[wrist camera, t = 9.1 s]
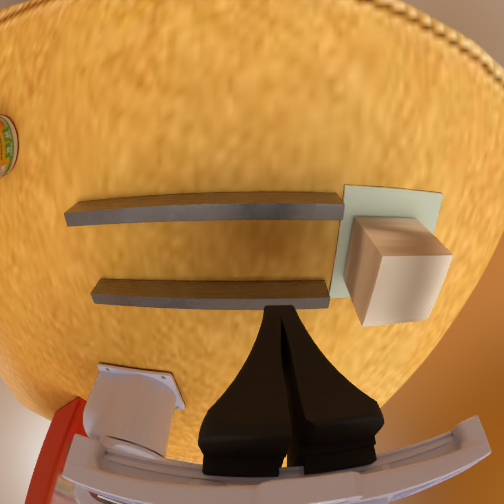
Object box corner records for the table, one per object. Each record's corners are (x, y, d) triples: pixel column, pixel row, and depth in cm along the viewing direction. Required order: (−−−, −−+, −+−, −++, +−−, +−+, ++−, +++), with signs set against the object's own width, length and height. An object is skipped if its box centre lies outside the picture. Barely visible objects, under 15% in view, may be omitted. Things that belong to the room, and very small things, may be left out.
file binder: (54, 410, 39) (18, 531, 12) (76, 395, 33) (31, 558, 6) (86, 429, 42) (57, 548, 15) (118, 419, 36) (85, 577, 9)
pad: (328, 296, 21) (328, 298, 21) (344, 184, 17) (345, 185, 17) (413, 291, 21) (414, 293, 21) (441, 193, 17) (443, 194, 17)
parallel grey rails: (103, 288, 21) (94, 303, 20) (78, 202, 17) (63, 213, 16) (323, 290, 21) (328, 308, 19) (336, 193, 17) (344, 204, 15)
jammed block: (343, 278, 20) (362, 326, 16) (354, 216, 17) (382, 256, 13) (400, 276, 20) (427, 319, 16) (416, 218, 17) (453, 255, 13)
